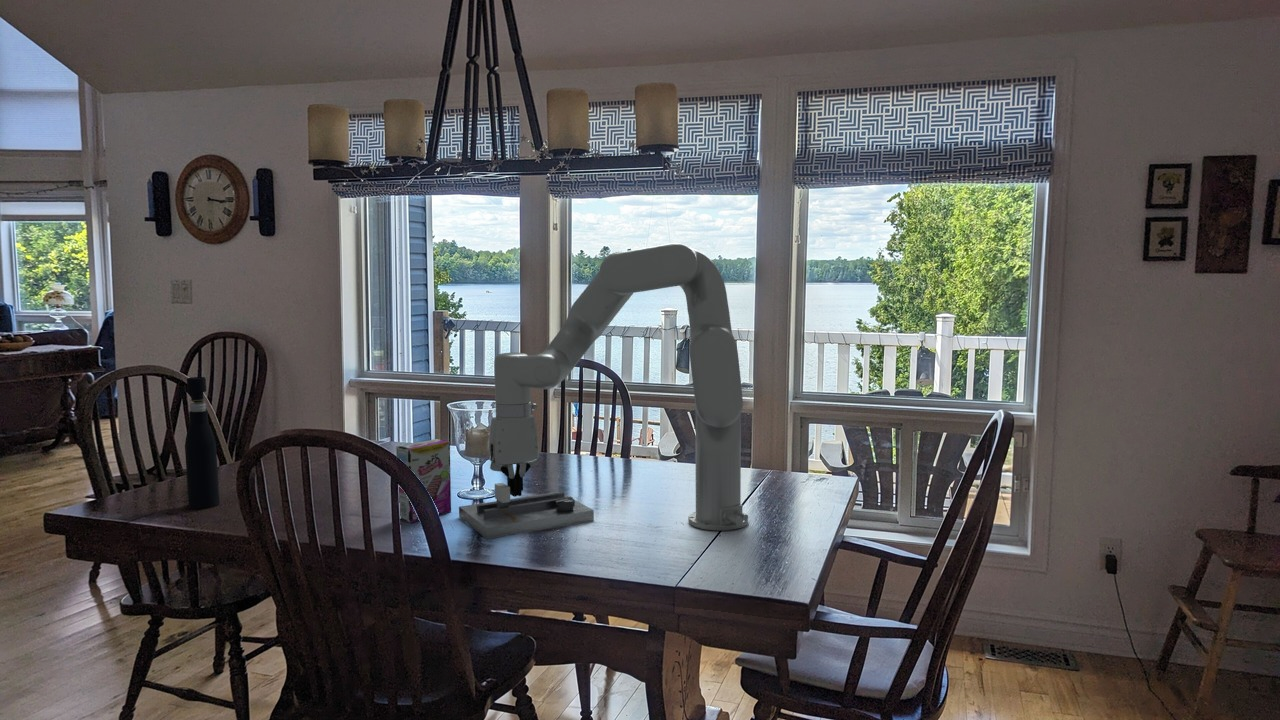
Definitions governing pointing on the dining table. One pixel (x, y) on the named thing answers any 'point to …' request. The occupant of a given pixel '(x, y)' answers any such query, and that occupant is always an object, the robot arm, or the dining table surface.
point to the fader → (502, 494)
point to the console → (525, 515)
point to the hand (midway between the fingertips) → (515, 494)
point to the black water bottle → (200, 451)
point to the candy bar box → (427, 474)
